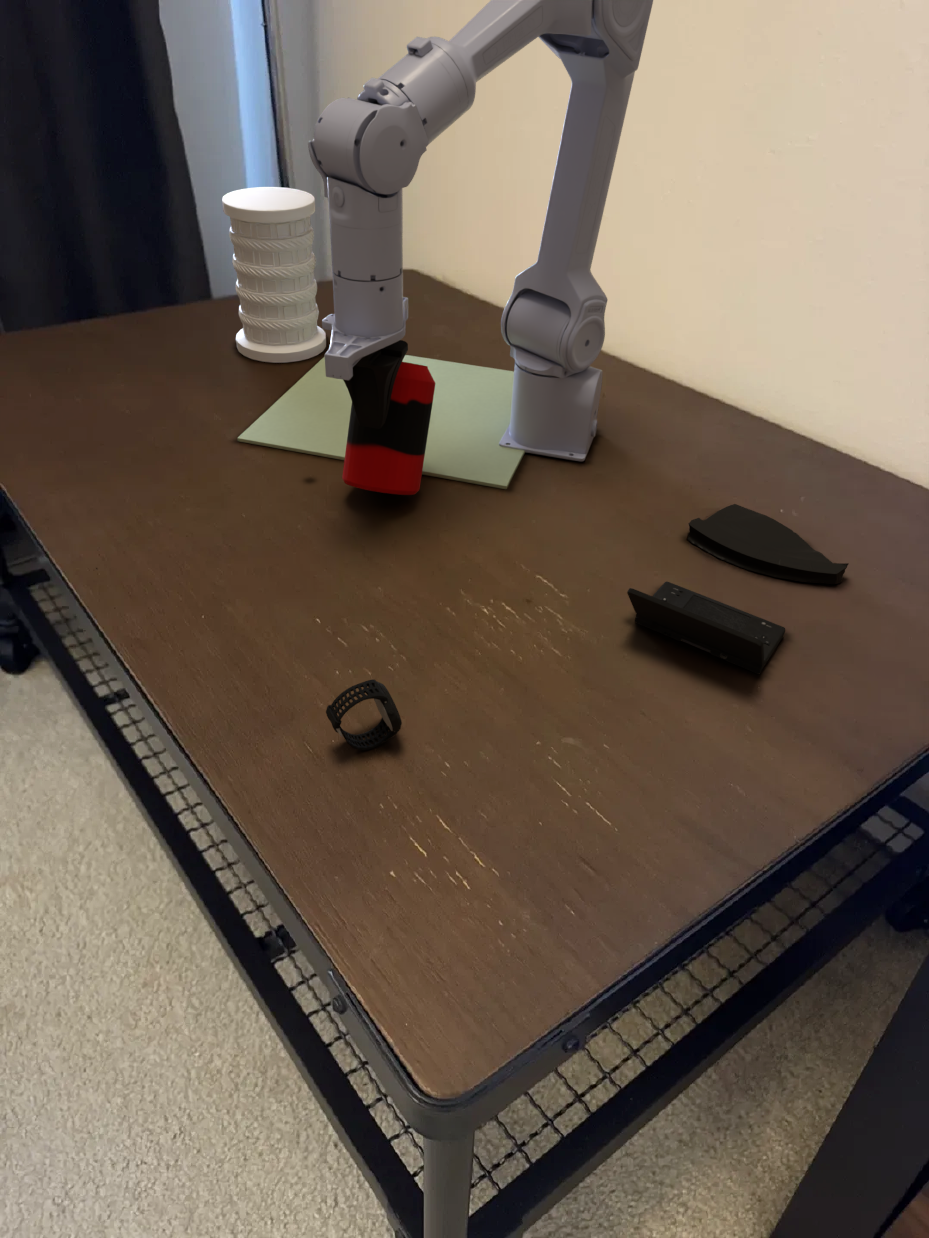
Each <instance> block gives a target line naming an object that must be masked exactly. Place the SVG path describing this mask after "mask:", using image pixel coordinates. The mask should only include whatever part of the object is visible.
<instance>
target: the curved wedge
mask: <svg viewBox="0 0 929 1238" xmlns="http://www.w3.org/2000/svg"><path fill="white" fill-rule="evenodd" d="M688 527H689V528H688V534H687V538H686V539H687V541H688V542H690V543H691V544H692V545H695V546H696V547H698V548H700V549H701V550H703V551H705V552H706V553H708V554H710V555H712V556H713V557H716V558H718V559H719V560H722V561H724V562H726V563H729V564H731V565H733V566H735V567H738V568H741V569H744V570H747V571H750V572H754V573H757V574H762V575H764V576H770V577H772V578H776V579H783V580H788V581H794V582H802V583H809V584H810V583H811V584H825V585H838V584H840V583H841V582H843V577H844V575H845V572H846V570H847V568H848V566H849V565H850V564H849V562H848V563H847V562H845V563H841V562H839V563H837V562H832V561H831V560H830V559H829V558H828V557H827V556H825V555H824V554H823V553H822V552H820V551H818V550H815V549H814V548H813V547H812V546H811V545H810V544H809V543H807V541H806V540H805V539H803V537H801V536H800V535H799V534H798V533H797V532H795V531H794V530H792V528H789V527H788V526H786V525H784V524H783V523H781V522H779V521H778V520H776V519H774V518H772V517H770V516H768V515H765V514H763V513H760V512H757V511H755V510H752V509H749V508H747V507H744V506H741V505H740V504H737V503H734V504H730V505H727V506H725V507H723V508H721V509H719V510H717V511H715V513H713V514H712V515H709V516H708V517H707V518H705V519H702V518H700V517H697V518H694V519H691V520H690V521H689V522H688Z"/></svg>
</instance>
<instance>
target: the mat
mask: <svg viewBox="0 0 929 1238" xmlns="http://www.w3.org/2000/svg"><path fill="white" fill-rule="evenodd" d="M402 362H407V363H413V364H418V365H423V366H428V370H429V372H430V373H431V375H432V377H433V379H434V381H435V383H436V384H435V390H434V397H433V403H432V410H431V417H430V423H429V430H428V437H427V443H426V450H425V457H424V463H423V470H422V475H424V476H429V477H435V478H441V479H447V480H450V481H458V482H462V483H469V484H475V485H479V486H485V487H490V488H496V489H500V490H501V489H502V490H507V489H508V488H509V486H510V484H511V481H512V480H513V477H514V475H515V474H516V471H517V469H518V467H519V465H520V463H521V461H522V459H523V457H524V455H525V454H526V452H525V451H524V450H518V449H512V448H506V447H501V446H499V442H500V440H501V439H502V437H503V435H504V433H505V432H506V430H507V428H508V426H509V425H510V420H511V406H512V393H513V380H514V370H508V369H507V370H506V369H501V368H495V367H494V368H493V367H488V366H481V365H474V364H468V363H463V362H462V363H461V362H454V361H448V360H441V359H436V358H429V357H423V356H422V357H421V356H415V355H409V354H406V355H405V357H404V359H403V361H402ZM351 406H352V400H351V397H350V394H349V391H348V389H347V387H346V384H345V382H344V381H343V379H336V378H330V377H326V371H325V356H323V357H322V358H321V359H320V360H319V361H318V362H317V363H316V364H315V365H314V366H313V367H311V369H309V370H308V371H307V372H306V373H305V374H304V375H302V377H301V378H300V379H299V380H297V382H296V383H294V384H293V385H292V386H291V387H290V388H289V389H288V390H287V391H286V392H285V393H284V394H283V395H282V396H281V397H279V398H278V399H277V400H276V401H275V402H274V403H273V404H272V405H271V406H270V407H269V408H268V409H267V410H266V411H264V412H263V413H262V414H261V415H260V416H259V417H258V418H257V419H256V420H255V421H254V422H253V423H251V425H250V426H248V427H247V428H246V429H245V430H244V431H243V432H242V433H241V434H240V435H239V436H238V437H237V438H236V439H237V442H240V443H246V444H252V445H257V446H263V447H268V448H269V447H270V448H274V449H279V450H285V451H290V452H296V453H303V454H307V455H314V456H319V457H322V458H323V457H324V458H329V459H335V460H341V461H344V460H345V452H346V444H347V437H348V429H349V421H350V413H351ZM507 445H509V444H507Z"/></svg>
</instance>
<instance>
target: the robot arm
mask: <svg viewBox="0 0 929 1238" xmlns="http://www.w3.org/2000/svg"><path fill="white" fill-rule="evenodd" d="M653 4H654V0H489V1H488V2H487V3H486V4H485V5H484V6H483V7H482V8H481V9H480V10H479V11H478V12H477V13H476V14H475V15H474V16H473V17H472V18H471V19H470V20H469V21H468V22H467V23H466V24H465V25H464V26H463V27H462V28H461V29H460V30H459V31H458V32H456V33H455V35H454V36H452V37H451V38H450V39H449V40H447V39H445V38H443V37H440V36H429V37H422V36H416V37H414V38H413V39H412V40H411V41H410V42H408V43H407V44H406V50H407V54H405V55H404V56H403V57H402V58H401V59H399V60H398V61H397V62H396V63H394V64H393V65H392V66H391V67H390V68H388V69H387V70H386V71H384V73H383V74H381V75H380V76H379V77H378V78H376V77H371V78H369V79H368V80H367V81H366V82H364V84H363V90H362V91H361V92H360V93H359V94H358V96H357V98H352V97H340V98H337V99H334V100H333V101H331V102H330V103H329V104H328V105H327V106H326V107H325V108H324V109H323V111H322V112H321V113H320V114H319V116H318V118H317V120H316V122H315V125H314V128H313V129H314V130H313V136H312V137H313V138H312V140H308V142H307V147H308V148H307V149H308V153H309V157H310V159H311V162H312V164H313V166H314V168H315V170H316V171H317V172H318V173H319V174H320V177H321V179H322V182H323V193H324V194H323V195H324V198H326V199H327V203H328V219H329V235H330V237H329V238H330V252H331V253H330V254H331V255H330V256H331V274H332V275H331V276H332V277H331V278H332V293H333V311H334V312H333V313H330V314H328V315H327V316H325V317H324V318H323V319H322V320H321V325H322V326H321V327H322V329H323V330H324V331H325V330H326V331H331V335H330V344H329V347H328V349H327V351H326V352H325V353H324V357H325V371H326V377H330V378H336V379H343V381H344V382H345V384H346V387H347V389H348V391H349V394H350V397H351V400H352V403H353V407H354V410H355V413H356V417H357V420H358V422H359V425H360V426H365V427H371V428H377V429H380V428H381V427H382V426H383V425H384V423H385V421H386V418H387V414H388V410H389V405H390V400H391V395H392V390H393V386H394V382H395V379H396V376H397V373H398V370H399V367H400V365H401V363H402V361H403V359H404V357H405V355H407V353H408V351H409V344H408V342H407V341H405V340H403V338H404V337H405V336H406V330H407V329H406V328H407V327H406V326H407V323H406V322H407V320H408V319H409V297H408V296H407V297H406V296H404V261H403V260H404V259H403V258H404V253H403V252H404V240H403V235H404V234H403V233H404V231H403V227H404V226H403V223H404V221H403V219H404V218H403V215H404V213H403V204H404V203H403V189H404V188H407V187H409V185H410V184H411V182H412V181H413V179H414V178H415V175H416V174H417V171H418V167H419V163H420V160H421V158H422V156H423V155H424V153H425V152H427V147H429V145H430V144H431V143H432V142H433V141H434V140H436V139H437V138H438V137H439V136H440V135H442V134H443V132H445V131H446V130H447V129H448V128H449V127H450V126H452V125H453V124H454V123H455V122H456V121H458V120H459V119H460V118H461V117H462V116H463V115H464V114H465V113H467V112H468V111H469V110H470V109H471V108H472V107H473V104H474V102H475V98H476V93H477V82H479V81H480V80H482V79H483V78H484V77H486V76H487V75H488V74H489V73H491V72H493V71H494V70H495V69H497V68H498V67H499V66H500V65H502V64H503V63H505V62H506V61H507V60H509V59H510V58H512V57H513V56H514V55H516V54H517V53H518V52H520V51H521V50H523V49H524V48H525V47H526V46H528V45H529V44H531V43H532V42H533V41H535V40H536V39H537V38H538V39H540V40H541V42H542V43H543V44H544V45H545V46H547V48H548V49H549V50H550V51H551V52H552V53H553V54H554V55H555V56H556V57H557V58H558V59H560V61H561V63H562V64H563V66H564V69H565V70H566V72H567V74H568V77H569V78H570V81H571V86H570V91H569V96H568V101H567V105H566V111H565V116H564V121H563V126H562V131H561V137H560V143H559V147H558V152H557V157H556V161H555V167H554V172H553V178H552V181H551V182H552V183H551V189H550V193H549V198H548V203H547V208H546V212H545V219H544V223H543V229H542V234H541V238H540V239H541V240H540V244H539V249H538V254H537V259H536V261H535V263H533V264H532V265H530V266H528V267H527V268H525V269H524V270H522V271H520V272H519V273H518V274H517V275H516V276H515V278H514V282H513V288H512V291H511V294H510V295H509V299H508V300H507V302H506V304H505V306H504V308H503V311H502V313H501V314H502V315H501V319H500V332H501V336H502V339H503V341H504V342H505V343H506V344H507V345H508V346H510V352H509V356H510V357H511V358H513V359H514V366H513V367H514V370H513V371H514V380H513V393H512V406H511V420H510V425H509V426H508V428H507V430H506V432H505V433H504V435H503V437H502V439H501V440H500V442H499V446H501V447H506V448H512V449H518V450H524V451H525V453H527V454H533V455H539V456H545V457H550V458H556V459H562V460H569V461H574V462H580V463H582V462H584V461H585V460H586V458H587V456H588V453H589V450H590V448H591V445H592V443H593V440H594V438H595V437H596V434H597V430H598V413H599V407H600V400H601V392H602V385H603V376H604V375H603V374H604V371H603V370H602V369H600V368H596V367H594V366H591V365H592V364H593V363H594V362H595V361H596V360H597V358H598V356H599V355H600V353H601V351H602V349H603V346H604V343H605V338H606V337H605V336H606V323H605V322H606V321H605V315H606V308H607V303H608V297H607V295H606V293H605V292H604V290H603V289H602V287H601V286H600V284H599V282H598V281H597V280H596V278H595V277H594V275H593V273H592V271H591V269H592V264H593V261H594V260H593V259H594V257H595V256H594V255H595V252H596V251H595V250H596V246H597V241H598V237H599V233H600V228H601V224H602V220H603V216H604V211H605V207H606V202H607V198H608V194H609V189H610V184H611V180H612V176H613V171H614V167H615V162H616V159H617V154H618V149H619V145H620V140H621V136H622V132H623V127H624V123H625V118H626V113H627V109H628V105H629V100H630V95H631V92H632V88H633V82H634V79H635V73H636V71H637V70H638V69H639V66H640V62H641V58H642V57H641V56H642V52H643V48H644V43H645V39H646V35H647V31H648V26H649V21H650V16H651V12H652V8H653ZM507 444H509V445H507Z"/></svg>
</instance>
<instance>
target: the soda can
mask: <svg viewBox="0 0 929 1238" xmlns="http://www.w3.org/2000/svg"><path fill="white" fill-rule="evenodd" d="M435 384H436V383H435V381H434V379H433V377H432V375H431V373H430V372H429V370H428V366H423V365H418V364H413V363H407V362H402V363H401V365H400V367H399V370H398V373H397V376H396V379H395V382H394V386H393V390H392V395H391V400H390V405H389V410H388V414H387V418H386V421H385V423H384V425H383V426H382V427H381V428H380V429H377V428H371V427H365V426H360V425H359V422H358V420H357V417H356V413H355V410H354V407H353V403H352V406H351V413H350V421H349V429H348V437H347V444H346V452H345V460H343V469H342V476H341V478H342V481H343V482H344V484H346V485H347V486H349V487H353V488H356V489H360V490H365V491H370V492H377V493H383V494H391V495H398V496H399V495H401V496H412V495H413V496H414V495H416V494H417V493H418V492H419V491H420V489H421V483H422V475H423V474H422V470H423V463H424V457H425V450H426V443H427V437H428V430H429V423H430V417H431V410H432V403H433V397H434V390H435Z"/></svg>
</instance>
